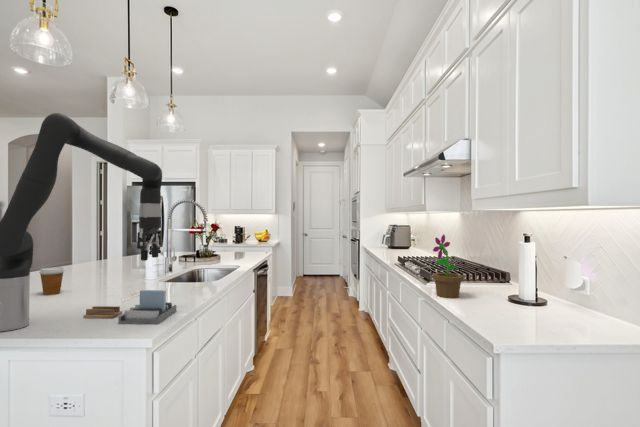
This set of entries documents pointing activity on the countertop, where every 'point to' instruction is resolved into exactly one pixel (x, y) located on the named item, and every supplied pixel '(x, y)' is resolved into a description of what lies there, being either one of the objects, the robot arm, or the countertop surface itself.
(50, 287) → the disposable coffee cup
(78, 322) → the countertop surface
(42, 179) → the robot arm
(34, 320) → the countertop surface
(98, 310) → the plate stand
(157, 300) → the plate
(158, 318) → the dish rack
